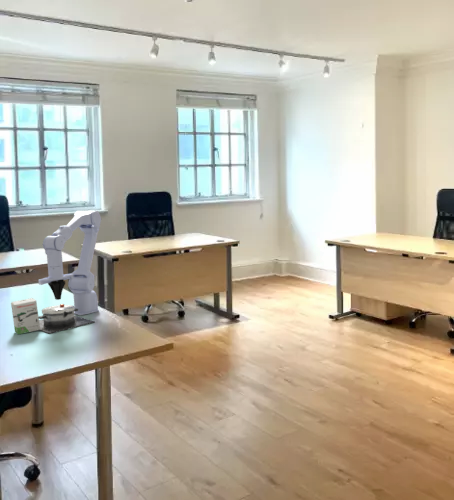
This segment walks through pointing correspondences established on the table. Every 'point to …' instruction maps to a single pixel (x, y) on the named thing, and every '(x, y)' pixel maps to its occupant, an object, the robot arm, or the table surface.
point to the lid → (58, 310)
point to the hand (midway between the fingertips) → (57, 299)
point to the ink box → (25, 316)
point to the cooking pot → (61, 322)
